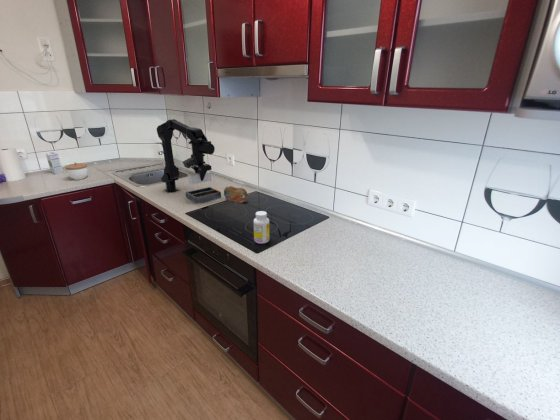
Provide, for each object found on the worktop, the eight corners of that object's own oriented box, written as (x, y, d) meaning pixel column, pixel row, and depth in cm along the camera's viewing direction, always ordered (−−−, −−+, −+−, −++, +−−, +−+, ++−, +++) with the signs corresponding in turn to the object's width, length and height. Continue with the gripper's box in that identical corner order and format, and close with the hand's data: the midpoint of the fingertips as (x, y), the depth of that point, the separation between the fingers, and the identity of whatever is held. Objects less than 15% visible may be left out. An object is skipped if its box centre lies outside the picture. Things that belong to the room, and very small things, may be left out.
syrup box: (63, 172, 219) (58, 152, 213) (54, 174, 214) (48, 154, 209) (59, 171, 222) (54, 151, 216) (50, 173, 217) (45, 153, 212)
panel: (189, 183, 167) (188, 174, 165) (208, 179, 174) (208, 170, 172) (191, 184, 165) (190, 175, 163) (211, 180, 172) (210, 172, 170)
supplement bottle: (266, 235, 133) (266, 209, 128) (271, 242, 127) (271, 215, 122) (252, 238, 130) (251, 211, 126) (256, 245, 125) (256, 217, 120)
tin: (223, 199, 174) (223, 185, 171) (227, 197, 176) (226, 184, 173) (245, 204, 167) (245, 190, 164) (248, 202, 170) (248, 188, 167)
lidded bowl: (74, 182, 199) (70, 165, 194) (64, 179, 205) (60, 163, 200) (93, 177, 209) (90, 162, 205) (83, 174, 215) (79, 159, 210)
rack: (186, 197, 176) (185, 191, 174) (210, 191, 186) (210, 185, 184) (195, 203, 167) (195, 197, 165) (221, 197, 176) (220, 191, 175)
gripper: (176, 151, 165) (180, 179, 171) (190, 157, 152) (194, 186, 158) (195, 149, 172) (198, 175, 178) (210, 154, 158) (213, 182, 164)
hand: (200, 180), depth 169 cm, fingers closed on panel, 3 cm apart
